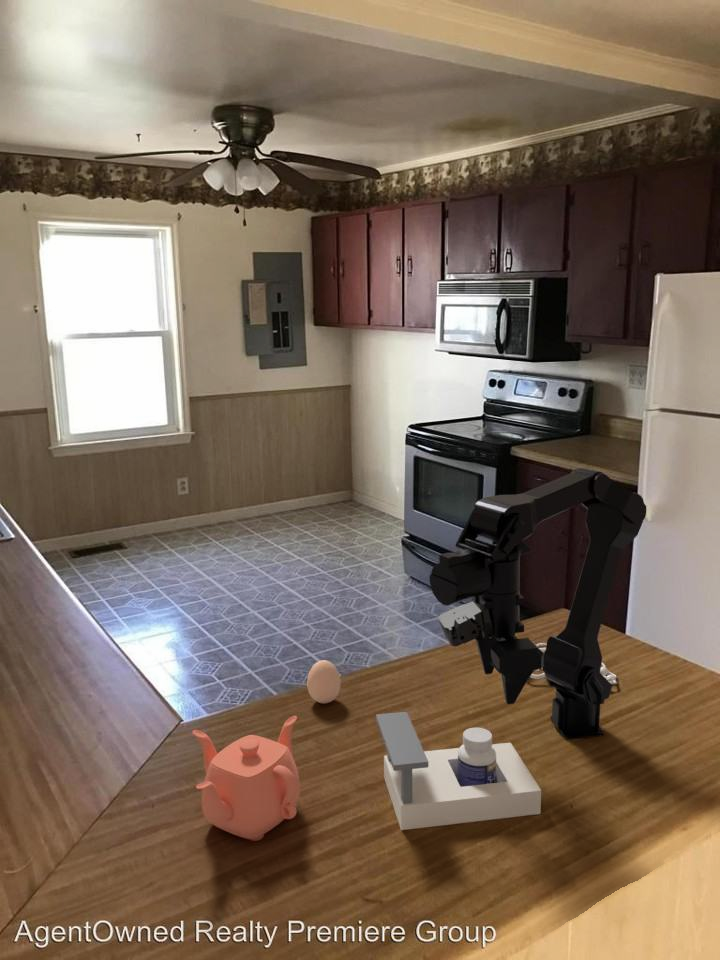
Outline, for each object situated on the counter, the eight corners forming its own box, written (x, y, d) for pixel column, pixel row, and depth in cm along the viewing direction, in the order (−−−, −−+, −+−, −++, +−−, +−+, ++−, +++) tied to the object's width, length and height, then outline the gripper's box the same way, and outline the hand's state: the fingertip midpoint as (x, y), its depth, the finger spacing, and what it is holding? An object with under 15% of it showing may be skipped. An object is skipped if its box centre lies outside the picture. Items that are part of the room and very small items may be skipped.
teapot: (201, 863, 97) (195, 783, 95) (197, 795, 111) (191, 724, 108) (316, 842, 100) (314, 765, 98) (299, 779, 114) (296, 710, 112)
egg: (330, 713, 133) (329, 671, 131) (301, 705, 135) (299, 664, 134) (347, 698, 137) (346, 657, 136) (318, 691, 140) (317, 651, 139)
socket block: (508, 762, 117) (510, 701, 115) (541, 816, 105) (544, 749, 103) (376, 776, 114) (375, 714, 112) (394, 833, 102) (393, 765, 100)
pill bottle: (494, 806, 107) (495, 747, 105) (455, 801, 108) (456, 742, 106) (496, 783, 112) (497, 726, 110) (459, 779, 113) (460, 723, 111)
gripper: (426, 571, 119) (428, 666, 122) (463, 618, 101) (465, 728, 104) (497, 564, 121) (497, 657, 124) (546, 609, 103) (544, 717, 106)
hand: (498, 688), depth 115 cm, fingers open, 9 cm apart
